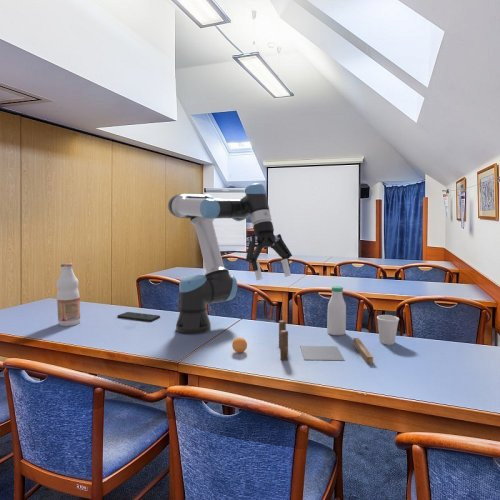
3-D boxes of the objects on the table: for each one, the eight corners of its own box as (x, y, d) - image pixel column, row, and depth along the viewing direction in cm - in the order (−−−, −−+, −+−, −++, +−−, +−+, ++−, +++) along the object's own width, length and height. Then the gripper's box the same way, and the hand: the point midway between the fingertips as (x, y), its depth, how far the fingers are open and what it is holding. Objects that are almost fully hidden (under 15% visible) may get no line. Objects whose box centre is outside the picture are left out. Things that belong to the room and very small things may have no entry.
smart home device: (150, 319, 184) (116, 315, 192) (150, 323, 184) (116, 318, 192) (160, 315, 192) (127, 311, 199) (161, 318, 192) (127, 314, 199)
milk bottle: (345, 336, 163) (347, 289, 161) (327, 335, 164) (327, 288, 162) (345, 331, 170) (346, 285, 168) (327, 330, 172) (328, 285, 170)
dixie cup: (386, 346, 150) (387, 321, 149) (371, 340, 158) (372, 316, 157) (402, 343, 154) (403, 319, 153) (387, 337, 161) (388, 313, 160)
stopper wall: (367, 364, 133) (367, 356, 133) (353, 344, 153) (353, 338, 153) (373, 364, 133) (373, 357, 133) (358, 344, 153) (358, 338, 153)
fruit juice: (53, 325, 178) (50, 264, 175) (67, 320, 187) (64, 262, 185) (72, 327, 176) (69, 265, 174) (84, 321, 186) (82, 262, 183)
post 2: (280, 360, 137) (280, 332, 136) (280, 357, 139) (280, 330, 138) (288, 360, 137) (288, 332, 136) (287, 357, 139) (287, 330, 138)
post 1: (278, 348, 149) (279, 322, 148) (278, 345, 152) (278, 320, 151) (285, 348, 149) (286, 322, 148) (285, 345, 152) (285, 320, 151)
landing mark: (304, 360, 137) (304, 359, 137) (300, 346, 151) (300, 345, 151) (344, 360, 137) (344, 359, 137) (336, 346, 151) (336, 346, 150)
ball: (231, 354, 142) (231, 340, 141) (232, 349, 147) (232, 335, 147) (246, 355, 142) (246, 340, 141) (247, 349, 147) (247, 335, 147)
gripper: (240, 220, 139) (252, 278, 135) (293, 219, 154) (305, 272, 150) (229, 227, 145) (241, 283, 141) (281, 226, 160) (292, 276, 156)
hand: (274, 277), depth 145 cm, fingers open, 13 cm apart
